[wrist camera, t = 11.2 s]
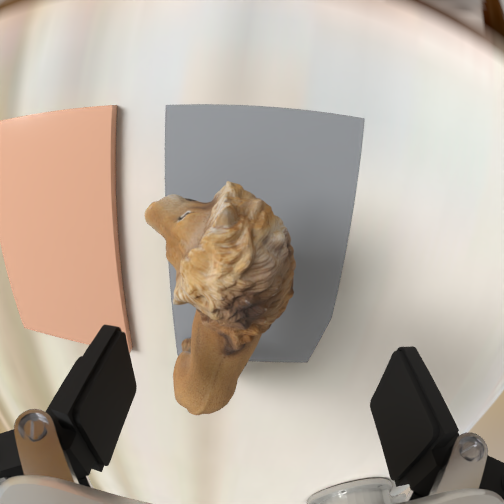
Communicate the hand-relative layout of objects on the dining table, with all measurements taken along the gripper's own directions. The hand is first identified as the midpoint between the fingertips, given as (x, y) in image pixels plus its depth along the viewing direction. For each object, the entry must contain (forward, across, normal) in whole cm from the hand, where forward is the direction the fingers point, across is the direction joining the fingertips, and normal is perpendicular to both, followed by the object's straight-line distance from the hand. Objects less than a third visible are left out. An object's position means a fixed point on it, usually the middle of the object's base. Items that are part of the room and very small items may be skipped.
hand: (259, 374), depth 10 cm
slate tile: (+10, 0, -1) cm, 10 cm away
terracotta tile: (+9, +13, -1) cm, 16 cm away
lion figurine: (+8, +2, +1) cm, 9 cm away
